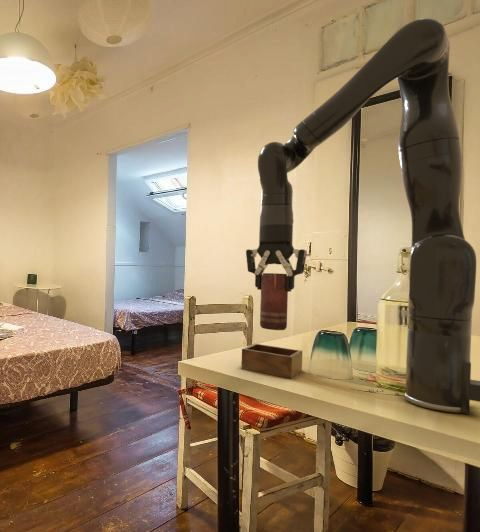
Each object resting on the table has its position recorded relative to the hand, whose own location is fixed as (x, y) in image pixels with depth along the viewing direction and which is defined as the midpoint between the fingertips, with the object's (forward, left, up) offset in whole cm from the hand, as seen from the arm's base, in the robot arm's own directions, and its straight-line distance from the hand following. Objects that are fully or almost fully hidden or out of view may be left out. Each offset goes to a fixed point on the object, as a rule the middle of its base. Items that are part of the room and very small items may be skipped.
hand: (274, 290), depth 100 cm
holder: (0, 0, -20) cm, 20 cm away
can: (0, 0, -10) cm, 10 cm away
